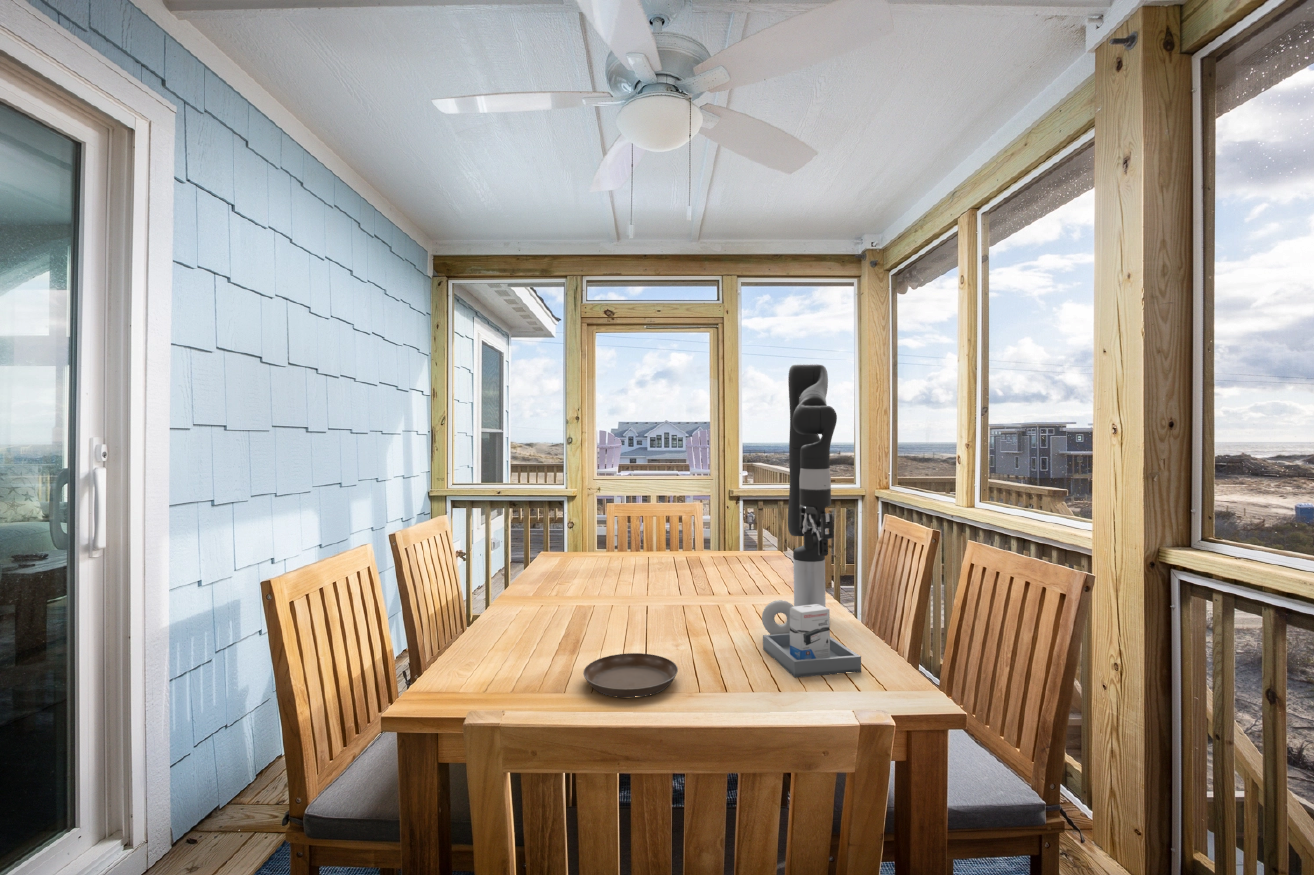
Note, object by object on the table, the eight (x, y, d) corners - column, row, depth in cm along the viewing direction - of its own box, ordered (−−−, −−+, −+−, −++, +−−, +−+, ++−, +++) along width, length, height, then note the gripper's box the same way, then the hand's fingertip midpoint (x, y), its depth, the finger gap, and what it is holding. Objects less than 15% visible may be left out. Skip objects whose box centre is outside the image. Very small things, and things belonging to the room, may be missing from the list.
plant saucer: (644, 711, 123) (644, 694, 123) (563, 690, 134) (563, 674, 134) (694, 677, 141) (694, 662, 141) (619, 661, 151) (619, 647, 152)
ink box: (801, 662, 146) (800, 612, 146) (789, 656, 151) (788, 607, 151) (831, 657, 150) (830, 607, 150) (818, 651, 154) (817, 603, 154)
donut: (762, 638, 167) (761, 601, 167) (761, 634, 171) (761, 597, 171) (800, 640, 166) (799, 602, 166) (799, 636, 169) (799, 598, 169)
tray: (763, 648, 159) (762, 635, 159) (822, 644, 162) (821, 630, 162) (794, 677, 139) (794, 661, 139) (861, 672, 142) (861, 656, 142)
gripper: (842, 489, 148) (843, 557, 149) (817, 483, 162) (817, 546, 163) (812, 490, 147) (813, 558, 147) (789, 484, 161) (790, 547, 161)
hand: (815, 552), depth 155 cm, fingers open, 8 cm apart
